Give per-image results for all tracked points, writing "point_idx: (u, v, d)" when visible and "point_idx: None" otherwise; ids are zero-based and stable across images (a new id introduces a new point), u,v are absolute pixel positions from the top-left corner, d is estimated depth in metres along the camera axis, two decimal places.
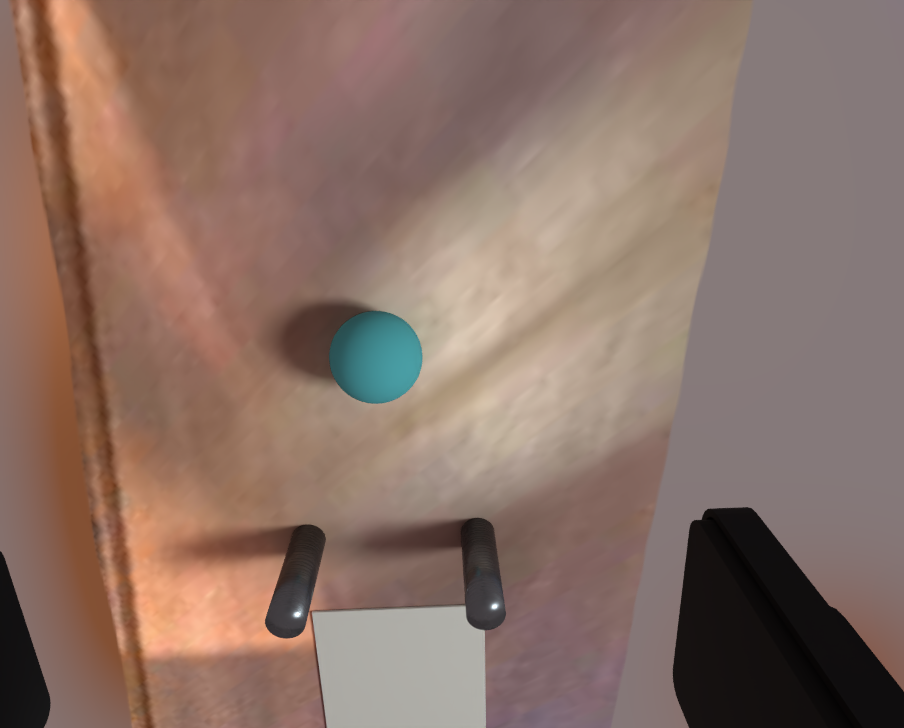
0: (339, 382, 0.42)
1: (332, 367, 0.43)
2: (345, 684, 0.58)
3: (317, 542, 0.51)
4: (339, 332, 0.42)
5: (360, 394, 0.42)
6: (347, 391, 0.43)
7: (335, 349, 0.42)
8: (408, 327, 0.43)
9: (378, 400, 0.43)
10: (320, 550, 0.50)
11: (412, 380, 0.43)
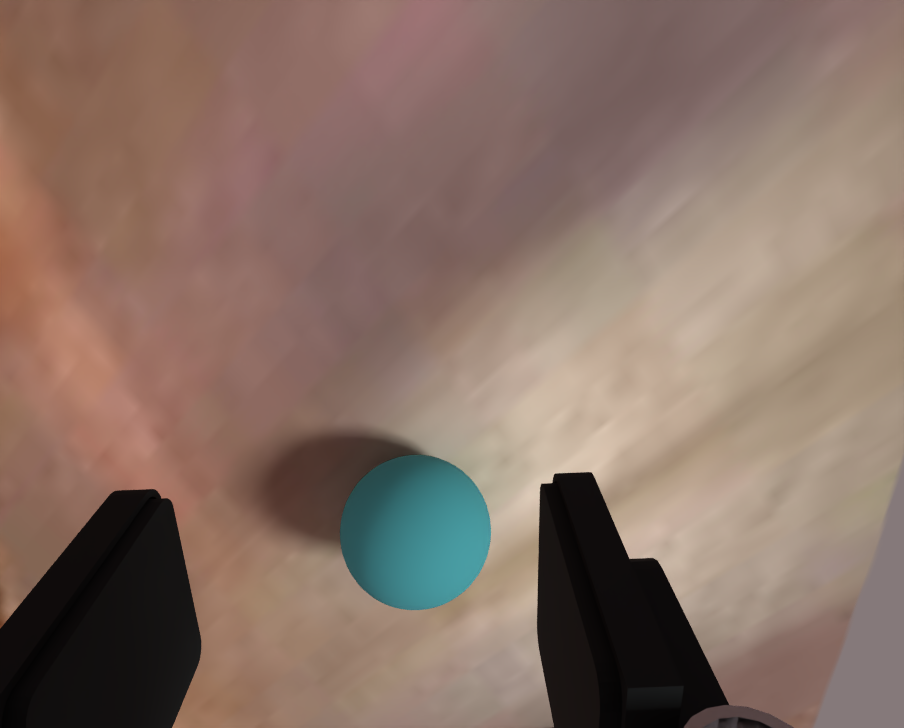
0: (357, 581, 0.26)
1: (345, 556, 0.26)
2: None
3: None
4: (357, 498, 0.26)
5: (392, 604, 0.25)
6: (370, 594, 0.26)
7: (350, 530, 0.25)
8: (470, 486, 0.26)
9: (422, 609, 0.26)
10: None
11: (477, 574, 0.26)
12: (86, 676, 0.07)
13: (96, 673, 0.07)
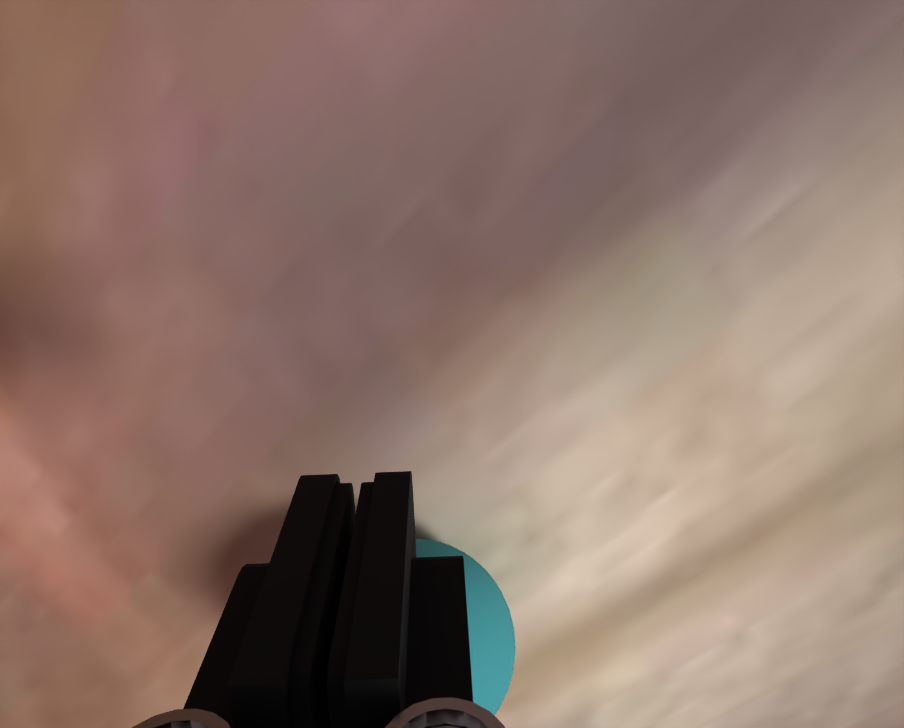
0: None
1: None
2: None
3: None
4: None
5: None
6: None
7: None
8: (487, 590, 0.19)
9: None
10: None
11: (497, 709, 0.19)
12: (328, 650, 0.07)
13: None
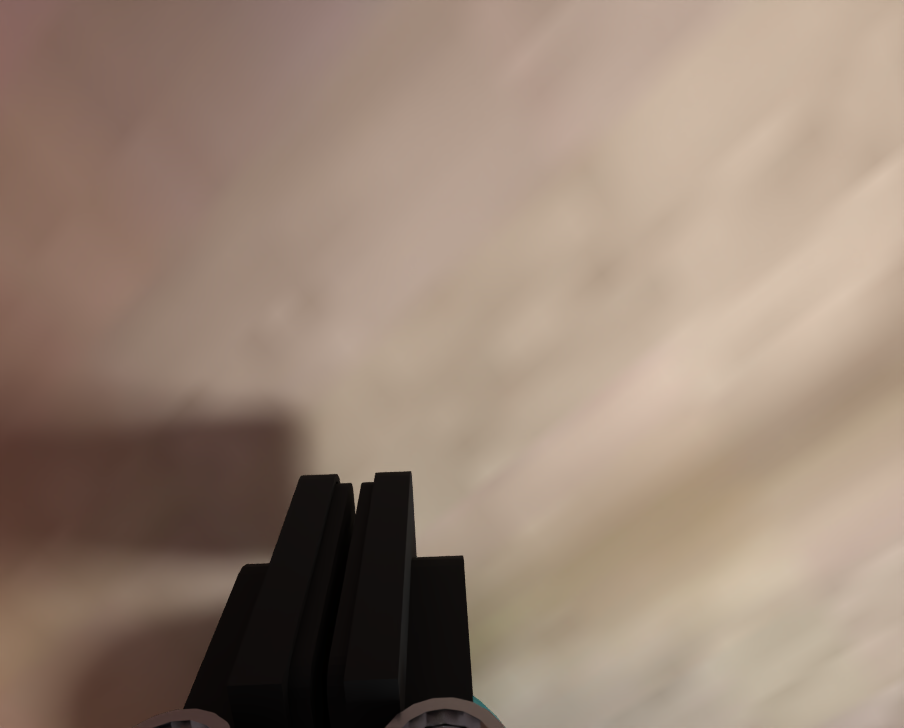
0: None
1: None
2: None
3: None
4: None
5: None
6: None
7: None
8: None
9: None
10: None
11: None
12: (328, 650, 0.07)
13: None
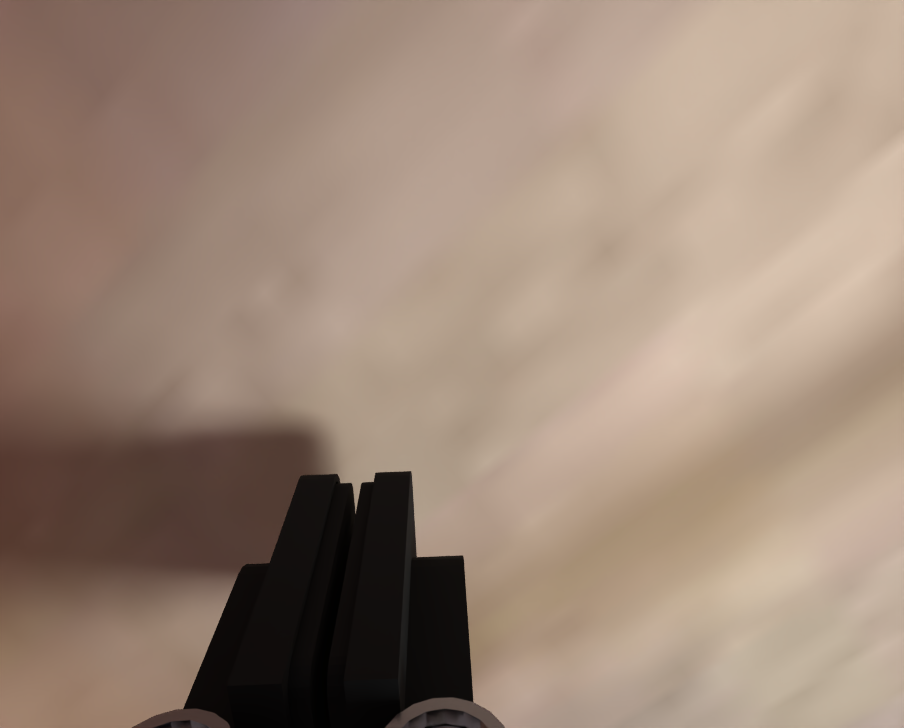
0: None
1: None
2: None
3: None
4: None
5: None
6: None
7: None
8: None
9: None
10: None
11: None
12: (328, 650, 0.07)
13: None
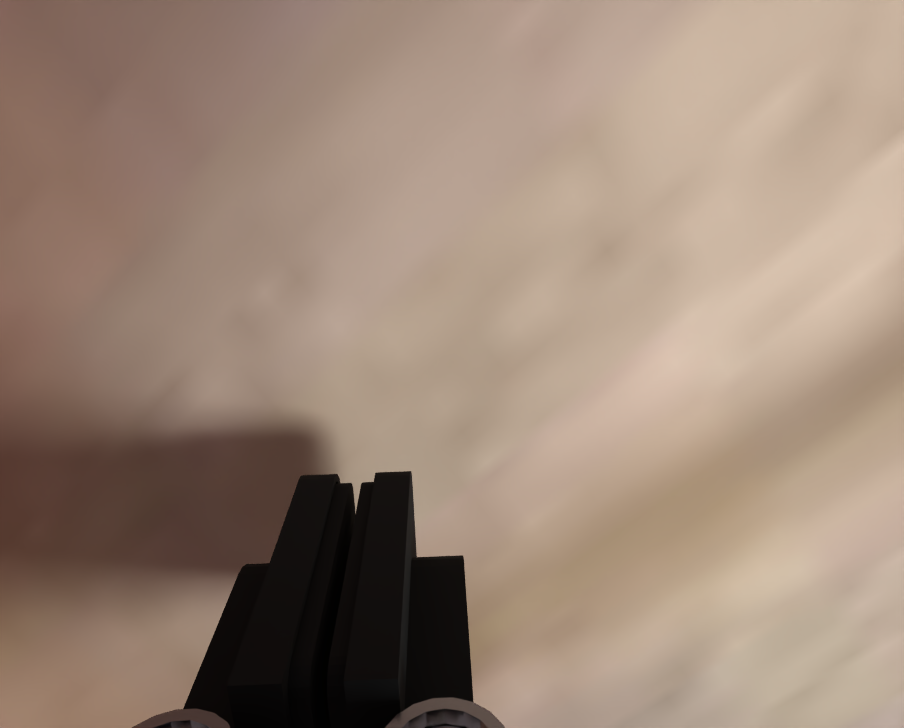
0: None
1: None
2: None
3: None
4: None
5: None
6: None
7: None
8: None
9: None
10: None
11: None
12: (328, 650, 0.07)
13: None
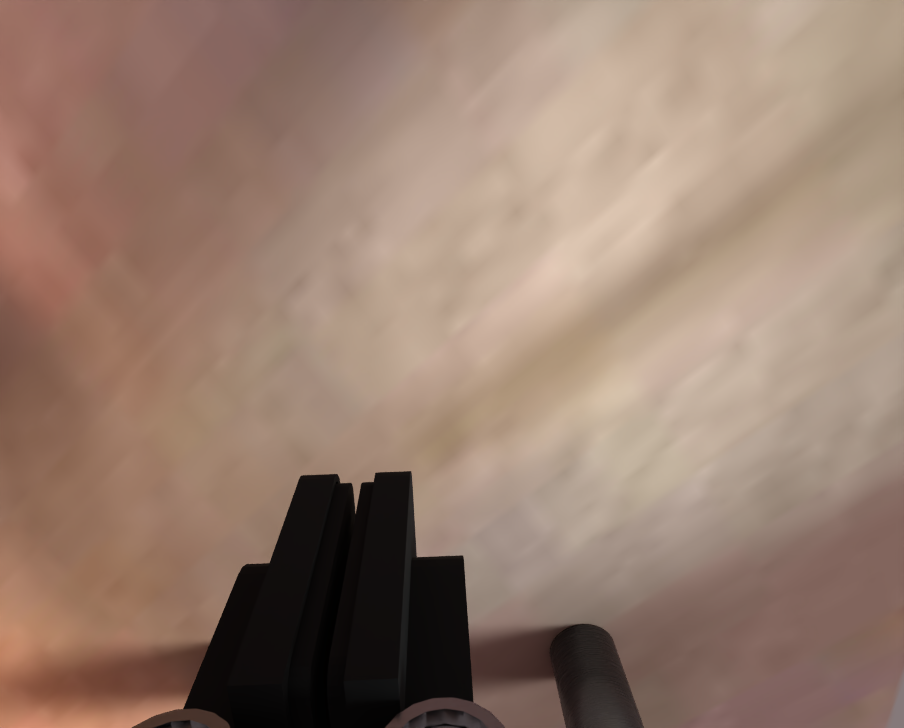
0: None
1: None
2: None
3: None
4: None
5: None
6: None
7: None
8: None
9: None
10: None
11: None
12: (328, 650, 0.07)
13: None
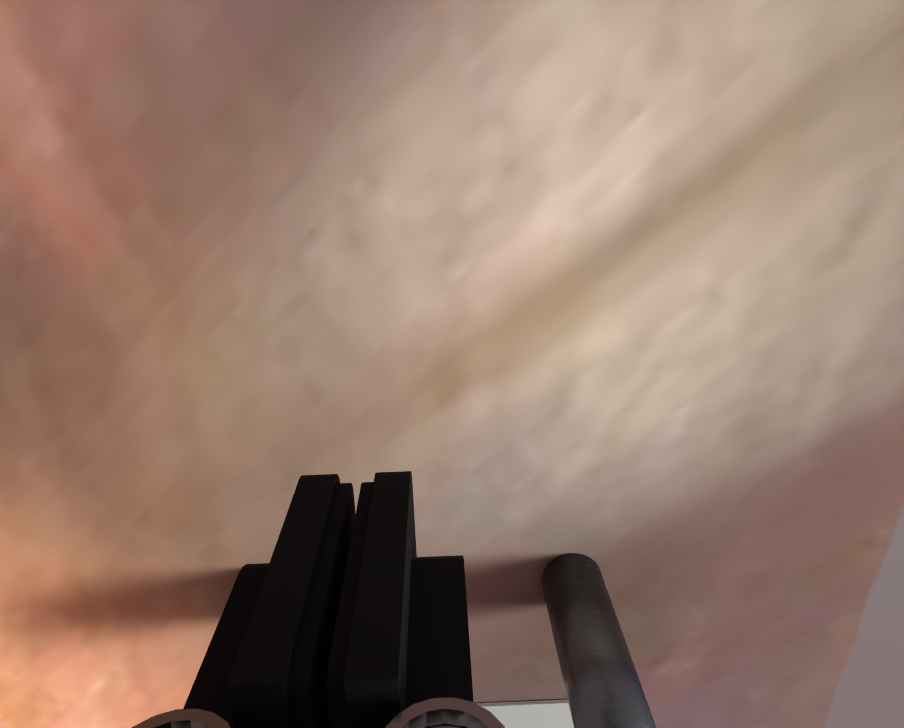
0: None
1: None
2: None
3: None
4: None
5: None
6: None
7: None
8: None
9: None
10: None
11: None
12: (328, 650, 0.07)
13: None
